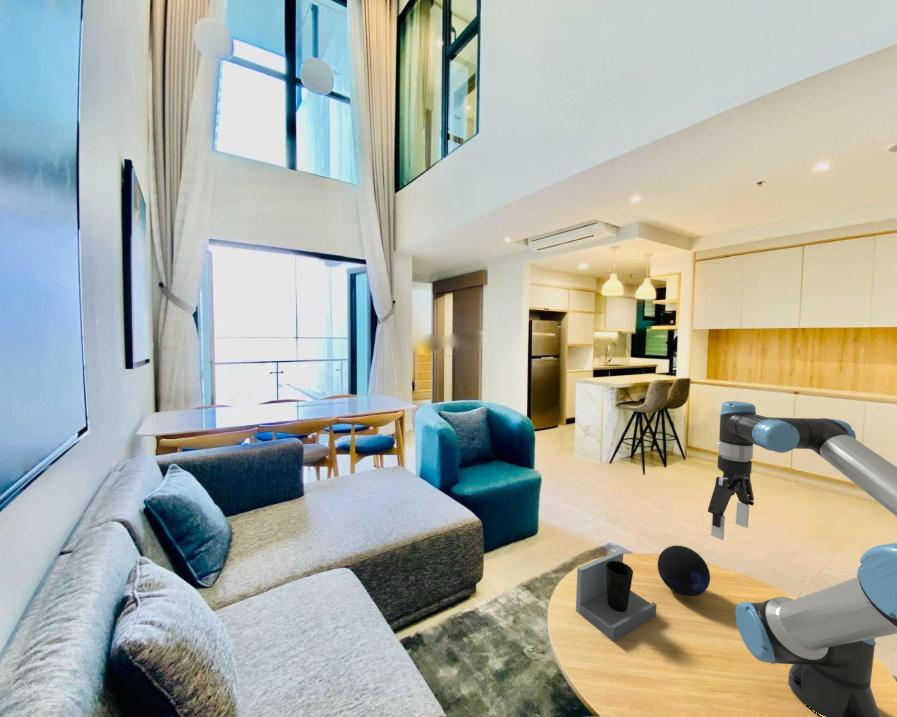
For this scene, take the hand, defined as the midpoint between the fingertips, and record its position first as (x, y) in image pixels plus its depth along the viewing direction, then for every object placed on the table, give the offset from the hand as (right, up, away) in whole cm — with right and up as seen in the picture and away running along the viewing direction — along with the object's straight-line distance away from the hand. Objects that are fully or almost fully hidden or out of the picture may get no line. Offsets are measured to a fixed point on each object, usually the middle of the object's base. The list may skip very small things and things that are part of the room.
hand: (729, 531), depth 106 cm
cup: (-27, -28, +10) cm, 40 cm away
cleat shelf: (-27, -31, +11) cm, 43 cm away
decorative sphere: (0, -31, +22) cm, 38 cm away
